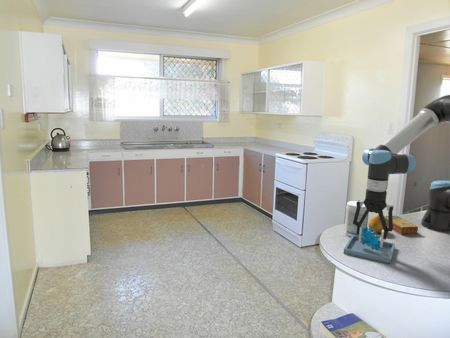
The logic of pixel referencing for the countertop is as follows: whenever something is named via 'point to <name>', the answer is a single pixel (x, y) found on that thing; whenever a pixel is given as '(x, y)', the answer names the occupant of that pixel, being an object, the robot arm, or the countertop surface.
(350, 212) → the supplement tub
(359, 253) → the tray
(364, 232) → the gear
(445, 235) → the countertop surface
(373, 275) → the countertop surface
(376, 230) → the fruit
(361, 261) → the countertop surface
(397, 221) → the carton
